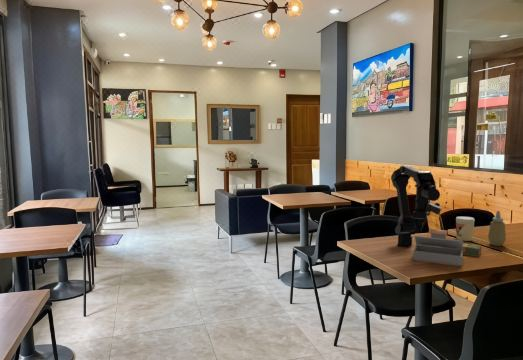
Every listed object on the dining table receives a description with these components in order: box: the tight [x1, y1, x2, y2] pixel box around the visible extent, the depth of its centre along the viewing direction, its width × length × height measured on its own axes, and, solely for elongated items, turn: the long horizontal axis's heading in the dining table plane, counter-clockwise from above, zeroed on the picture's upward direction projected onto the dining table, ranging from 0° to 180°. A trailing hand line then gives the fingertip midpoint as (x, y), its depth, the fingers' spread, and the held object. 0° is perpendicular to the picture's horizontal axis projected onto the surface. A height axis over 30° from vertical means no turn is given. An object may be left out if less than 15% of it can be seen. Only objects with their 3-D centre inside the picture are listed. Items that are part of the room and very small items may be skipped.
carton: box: [442, 242, 482, 257], centre depth 192 cm, size 8×16×4 cm, turn 54°
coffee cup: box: [455, 216, 476, 242], centre depth 216 cm, size 9×9×12 cm
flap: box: [414, 228, 464, 249], centre depth 181 cm, size 20×12×5 cm
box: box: [412, 244, 463, 267], centre depth 180 cm, size 20×12×4 cm, turn 63°
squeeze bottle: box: [487, 210, 507, 247], centre depth 203 cm, size 8×8×18 cm
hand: (421, 229), depth 187 cm, fingers open, 9 cm apart
